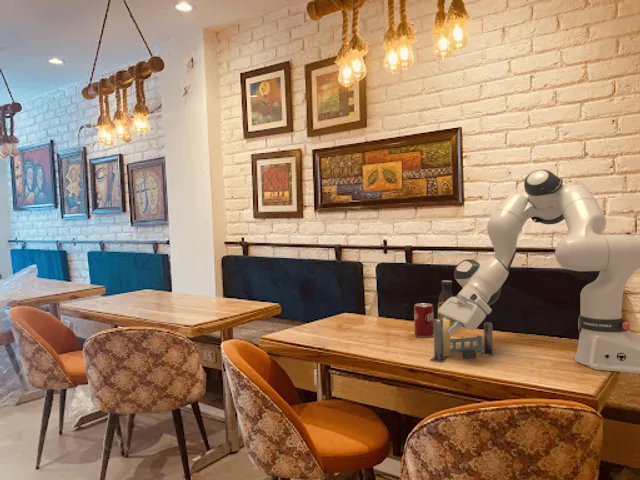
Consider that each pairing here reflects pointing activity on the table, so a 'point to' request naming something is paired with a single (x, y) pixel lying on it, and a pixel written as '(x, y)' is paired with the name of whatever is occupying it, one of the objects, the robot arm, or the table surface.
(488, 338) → the hinge post
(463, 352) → the block
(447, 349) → the gate
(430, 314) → the soda can
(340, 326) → the table surface
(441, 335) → the post
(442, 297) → the sauce bottle
